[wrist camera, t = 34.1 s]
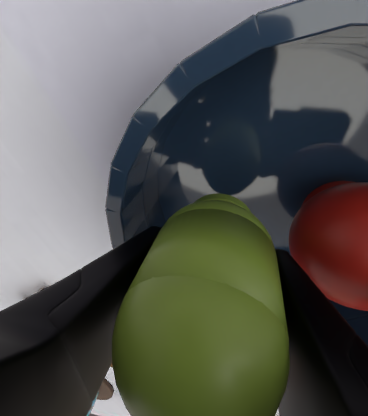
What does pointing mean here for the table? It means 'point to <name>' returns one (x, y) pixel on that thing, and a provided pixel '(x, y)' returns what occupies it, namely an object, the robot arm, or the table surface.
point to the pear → (204, 318)
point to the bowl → (252, 124)
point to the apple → (334, 241)
